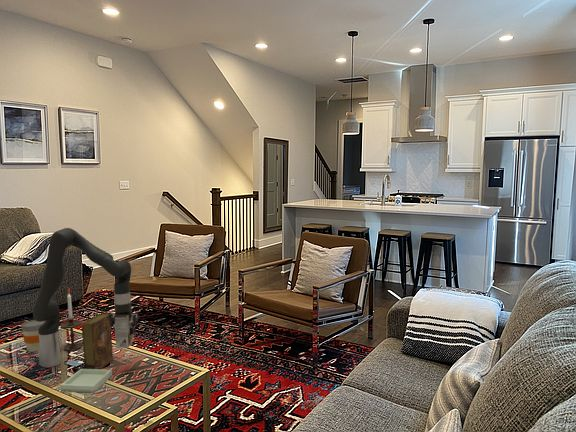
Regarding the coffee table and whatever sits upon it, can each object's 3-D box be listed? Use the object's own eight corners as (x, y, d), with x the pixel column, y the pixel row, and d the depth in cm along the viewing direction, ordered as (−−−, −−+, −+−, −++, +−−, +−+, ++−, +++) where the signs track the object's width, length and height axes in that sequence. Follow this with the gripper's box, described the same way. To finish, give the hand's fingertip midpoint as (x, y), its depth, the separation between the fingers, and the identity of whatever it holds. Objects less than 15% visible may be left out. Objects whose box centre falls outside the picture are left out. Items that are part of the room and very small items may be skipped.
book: (105, 358, 230) (102, 313, 227) (114, 359, 229) (111, 313, 226) (84, 372, 214) (81, 324, 211) (94, 373, 213) (91, 324, 210)
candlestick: (73, 343, 251) (68, 284, 247) (87, 345, 248) (83, 285, 244) (57, 350, 241) (52, 289, 237) (72, 353, 237) (68, 291, 234)
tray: (60, 391, 196) (60, 384, 196) (81, 374, 212) (81, 368, 211) (93, 392, 194) (93, 386, 194) (112, 375, 210) (111, 369, 210)
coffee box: (121, 340, 217) (119, 309, 215) (134, 340, 218) (132, 309, 216) (115, 348, 208) (113, 315, 206) (129, 347, 209) (127, 315, 207)
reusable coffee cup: (37, 342, 253) (35, 318, 251) (54, 345, 249) (52, 320, 247) (18, 351, 241) (15, 325, 239) (35, 354, 237) (33, 327, 235)
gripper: (104, 303, 208) (106, 336, 209) (133, 304, 206) (134, 337, 208) (112, 298, 215) (114, 330, 217) (140, 299, 213) (141, 331, 215)
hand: (124, 334), depth 212 cm, fingers closed on coffee box, 7 cm apart
